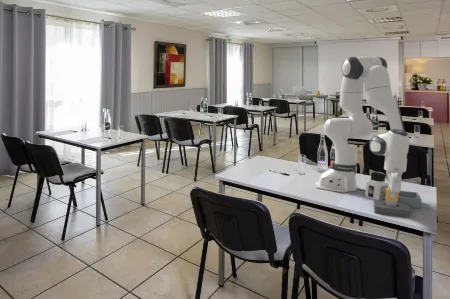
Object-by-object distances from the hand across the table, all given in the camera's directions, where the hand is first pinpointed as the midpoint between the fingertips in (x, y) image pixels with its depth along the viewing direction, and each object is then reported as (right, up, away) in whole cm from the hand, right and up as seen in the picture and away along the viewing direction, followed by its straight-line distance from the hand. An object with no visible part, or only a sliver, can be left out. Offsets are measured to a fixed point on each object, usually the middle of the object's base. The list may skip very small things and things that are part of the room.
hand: (391, 195), depth 153 cm
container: (+2, -4, +19) cm, 20 cm away
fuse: (0, -5, +1) cm, 5 cm away
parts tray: (+12, -5, +11) cm, 18 cm away
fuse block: (0, -7, +1) cm, 7 cm away
